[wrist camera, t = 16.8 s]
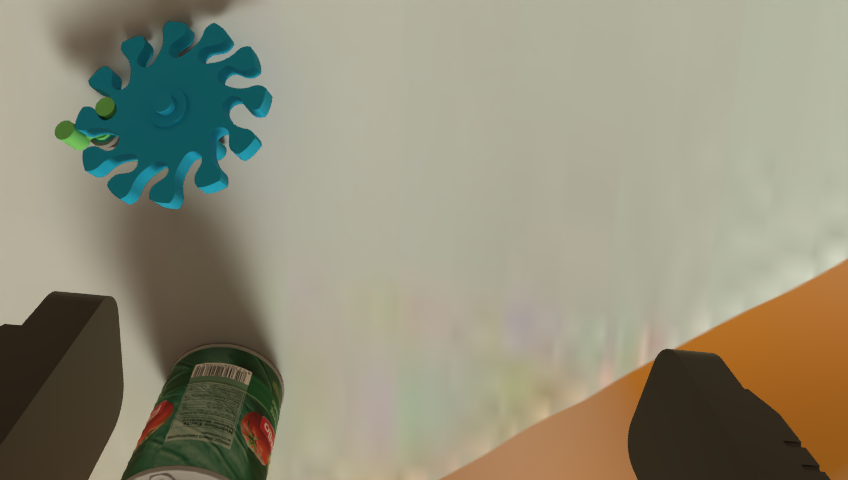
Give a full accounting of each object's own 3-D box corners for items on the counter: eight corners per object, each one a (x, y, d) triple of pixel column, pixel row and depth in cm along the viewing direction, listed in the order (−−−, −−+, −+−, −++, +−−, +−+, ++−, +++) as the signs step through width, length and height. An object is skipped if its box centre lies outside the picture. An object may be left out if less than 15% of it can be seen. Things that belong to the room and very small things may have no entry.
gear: (264, -1, 32) (257, 189, 29) (303, 64, 38) (301, 228, 35) (59, 29, 33) (33, 211, 31) (127, 87, 39) (110, 245, 36)
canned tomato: (299, 418, 46) (277, 554, 37) (194, 441, 47) (145, 582, 37) (261, 330, 43) (225, 455, 33) (148, 356, 43) (80, 487, 34)
